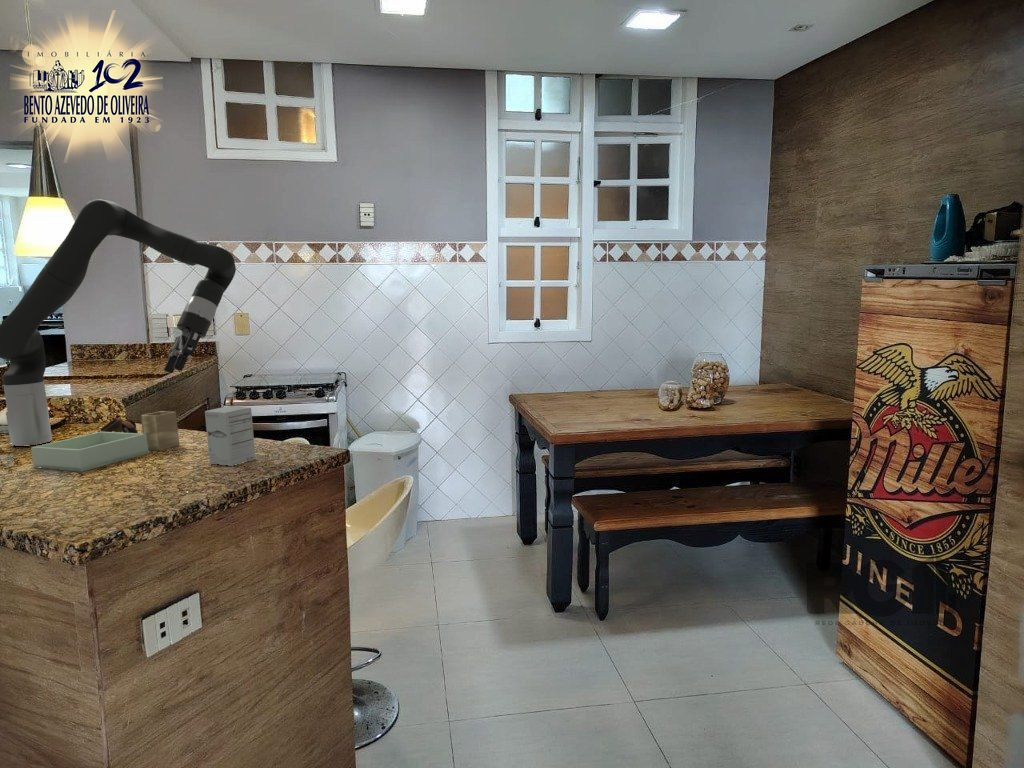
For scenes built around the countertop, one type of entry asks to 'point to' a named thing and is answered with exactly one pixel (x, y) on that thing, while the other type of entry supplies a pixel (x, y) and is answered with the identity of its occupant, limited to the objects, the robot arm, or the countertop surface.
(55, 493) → the countertop surface
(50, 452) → the sage crate
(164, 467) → the countertop surface
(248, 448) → the supplement box
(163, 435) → the brown cardboard box
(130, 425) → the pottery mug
